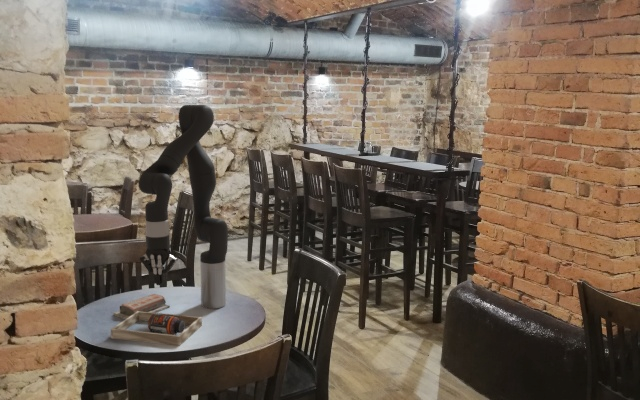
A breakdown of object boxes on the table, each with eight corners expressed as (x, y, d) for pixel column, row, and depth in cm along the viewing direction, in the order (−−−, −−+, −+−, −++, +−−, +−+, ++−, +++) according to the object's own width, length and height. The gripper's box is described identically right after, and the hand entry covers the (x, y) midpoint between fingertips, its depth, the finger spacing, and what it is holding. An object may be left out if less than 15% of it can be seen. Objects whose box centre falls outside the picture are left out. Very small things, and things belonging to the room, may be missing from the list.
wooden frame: (137, 319, 226) (137, 311, 226) (201, 325, 221) (201, 317, 221) (111, 338, 209) (110, 329, 208) (179, 345, 204) (179, 336, 203)
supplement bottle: (152, 310, 215) (182, 313, 212) (158, 320, 219) (188, 324, 216) (144, 325, 211) (176, 329, 208) (151, 335, 215) (181, 339, 212)
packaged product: (151, 291, 243) (169, 296, 238) (151, 303, 244) (170, 308, 239) (112, 303, 229) (131, 309, 223) (112, 316, 229) (131, 322, 224)
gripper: (181, 232, 211) (183, 282, 214) (144, 229, 214) (146, 279, 217) (171, 237, 204) (173, 289, 207) (133, 235, 207) (135, 286, 210)
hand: (159, 284), depth 212 cm, fingers closed
